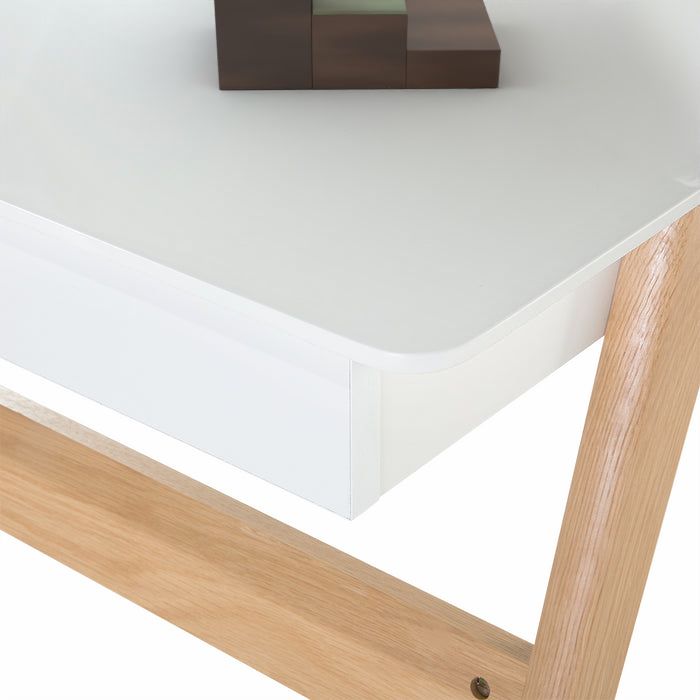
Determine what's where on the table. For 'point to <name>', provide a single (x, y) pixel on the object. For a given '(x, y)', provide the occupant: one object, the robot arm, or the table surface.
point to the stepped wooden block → (355, 44)
